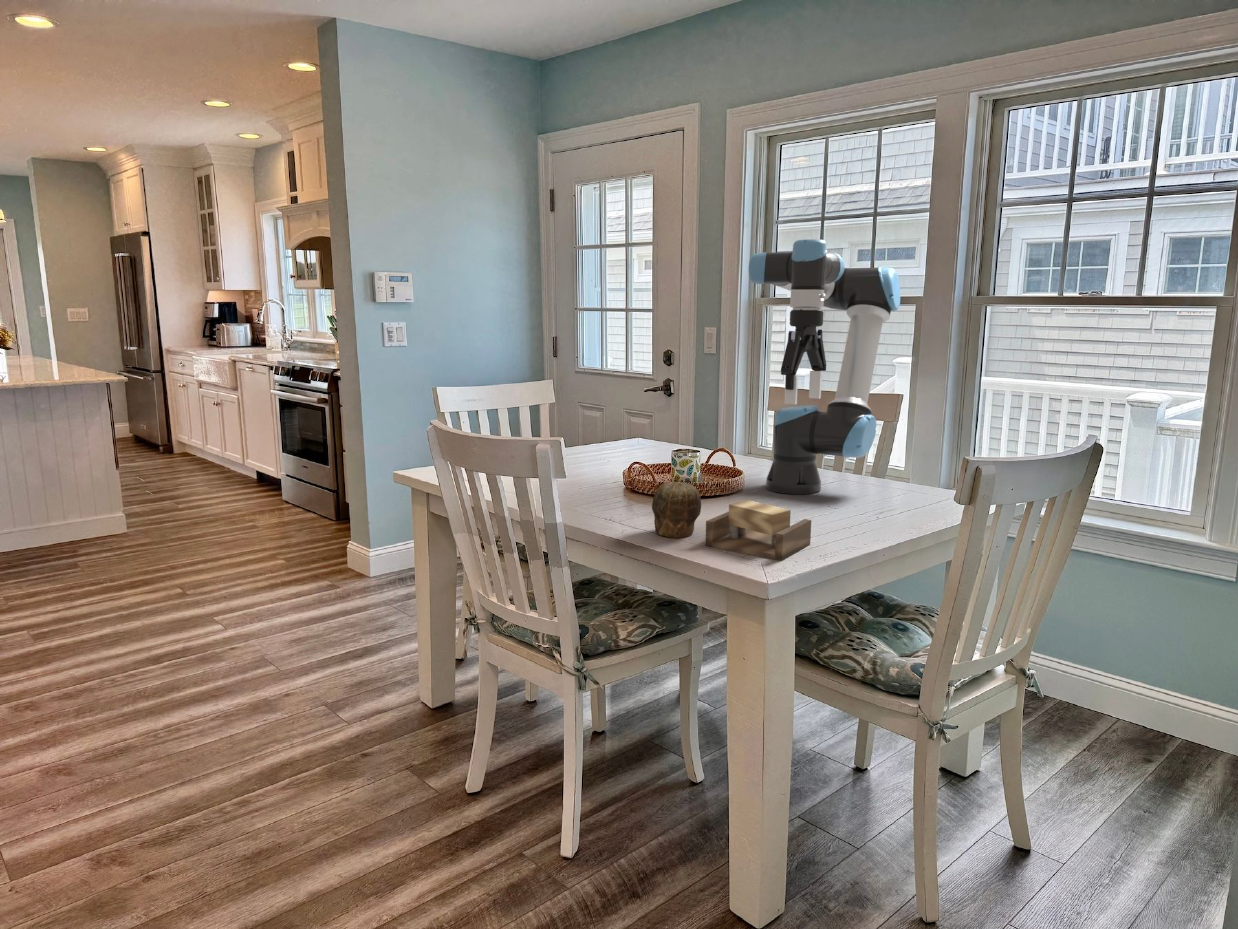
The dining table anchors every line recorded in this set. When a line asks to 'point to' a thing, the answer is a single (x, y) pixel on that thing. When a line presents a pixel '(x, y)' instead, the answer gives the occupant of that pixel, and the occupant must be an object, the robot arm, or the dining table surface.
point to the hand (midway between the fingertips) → (802, 401)
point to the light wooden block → (759, 517)
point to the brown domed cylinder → (676, 509)
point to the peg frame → (757, 538)
